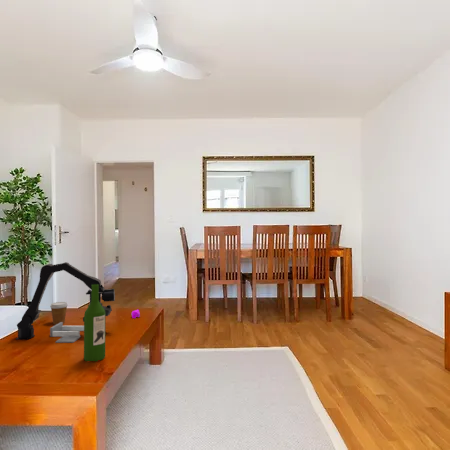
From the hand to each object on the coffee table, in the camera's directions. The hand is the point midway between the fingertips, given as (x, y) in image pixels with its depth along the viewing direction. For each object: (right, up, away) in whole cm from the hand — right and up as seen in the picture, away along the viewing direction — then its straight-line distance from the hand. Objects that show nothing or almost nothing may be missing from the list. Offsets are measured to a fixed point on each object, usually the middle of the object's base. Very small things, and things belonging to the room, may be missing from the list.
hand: (95, 330), depth 188 cm
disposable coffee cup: (-30, -2, +20) cm, 36 cm away
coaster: (-9, -1, -11) cm, 15 cm away
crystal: (+13, -2, +34) cm, 36 cm away
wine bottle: (+14, -1, -36) cm, 38 cm away
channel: (-13, -2, 0) cm, 14 cm away
